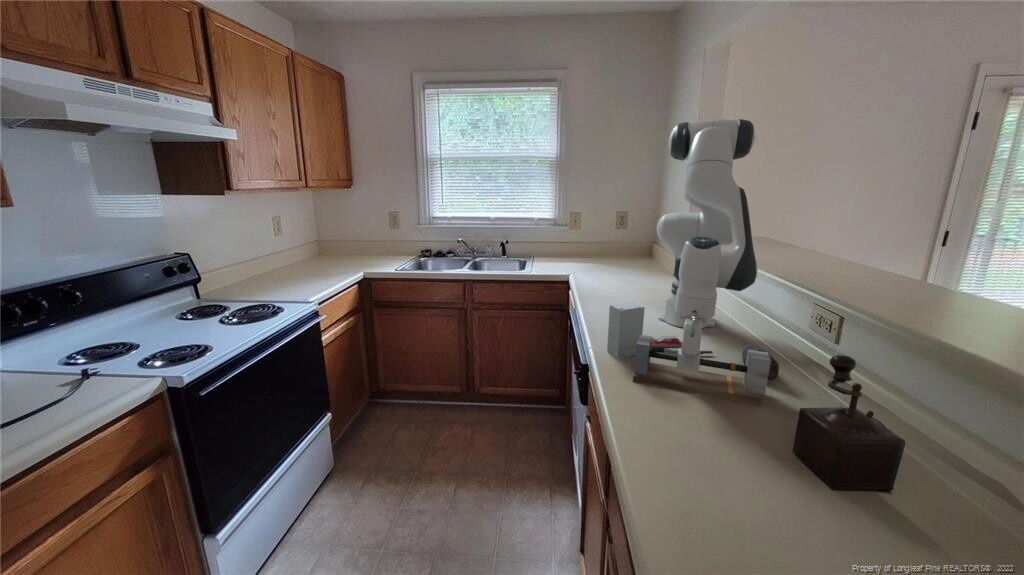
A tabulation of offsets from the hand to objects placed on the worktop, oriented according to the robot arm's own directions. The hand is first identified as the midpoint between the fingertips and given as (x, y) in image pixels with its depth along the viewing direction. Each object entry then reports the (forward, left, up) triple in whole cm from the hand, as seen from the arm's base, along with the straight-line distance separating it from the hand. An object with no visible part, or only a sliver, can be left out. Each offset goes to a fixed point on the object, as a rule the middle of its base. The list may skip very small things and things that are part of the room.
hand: (688, 359), depth 102 cm
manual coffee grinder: (+22, +25, -6) cm, 34 cm away
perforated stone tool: (-14, +17, -6) cm, 23 cm away
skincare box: (-12, -17, -6) cm, 22 cm away
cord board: (0, +2, -6) cm, 6 cm away
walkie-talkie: (-20, -4, -7) cm, 21 cm away
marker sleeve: (0, 0, -2) cm, 2 cm away
